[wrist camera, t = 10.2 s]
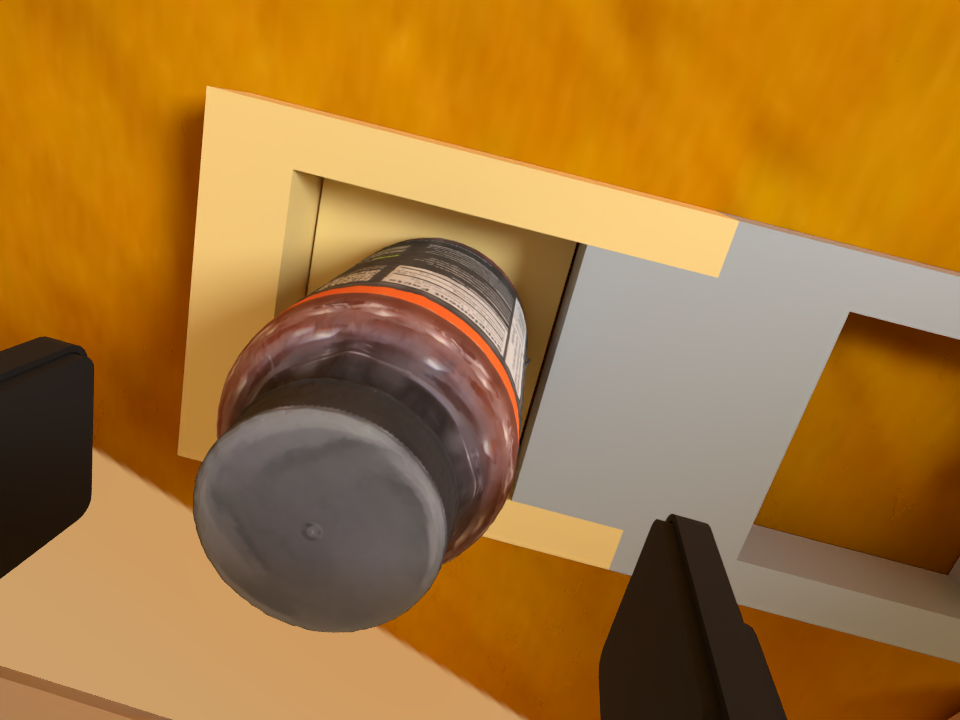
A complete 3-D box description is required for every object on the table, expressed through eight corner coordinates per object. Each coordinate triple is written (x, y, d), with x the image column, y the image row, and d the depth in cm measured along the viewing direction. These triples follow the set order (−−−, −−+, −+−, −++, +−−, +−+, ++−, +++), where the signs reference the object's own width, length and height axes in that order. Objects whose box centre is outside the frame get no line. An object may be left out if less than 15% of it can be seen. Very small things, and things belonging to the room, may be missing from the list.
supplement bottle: (438, 446, 22) (329, 745, 11) (307, 322, 21) (48, 518, 10) (570, 331, 20) (593, 553, 9) (433, 190, 19) (282, 254, 8)
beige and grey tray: (1194, 332, 18) (1291, 360, 16) (998, 628, 22) (1052, 687, 19) (249, 92, 19) (206, 85, 16) (216, 422, 22) (177, 455, 20)
